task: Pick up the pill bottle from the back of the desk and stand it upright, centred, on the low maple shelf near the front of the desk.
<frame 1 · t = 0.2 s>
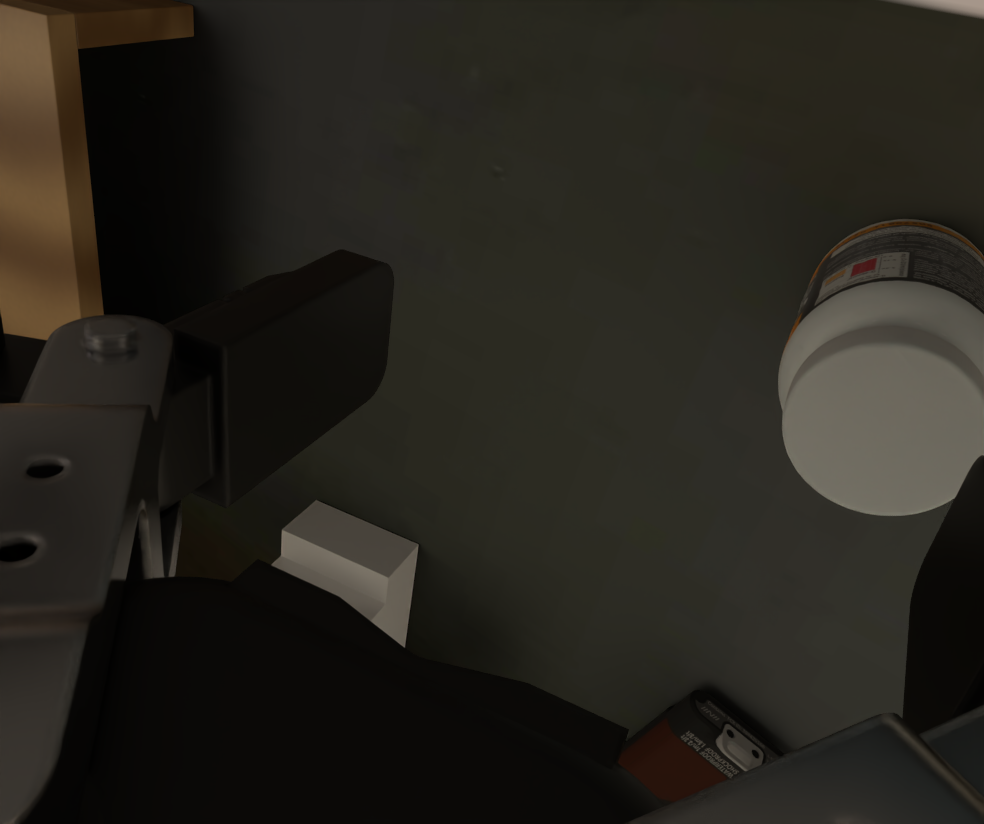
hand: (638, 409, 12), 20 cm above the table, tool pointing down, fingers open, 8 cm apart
pill bottle: (900, 298, 29), on the table
shelf: (116, 191, 42), on the table
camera: (684, 770, 42), on the table
grey cradle stand: (347, 614, 48), on the table
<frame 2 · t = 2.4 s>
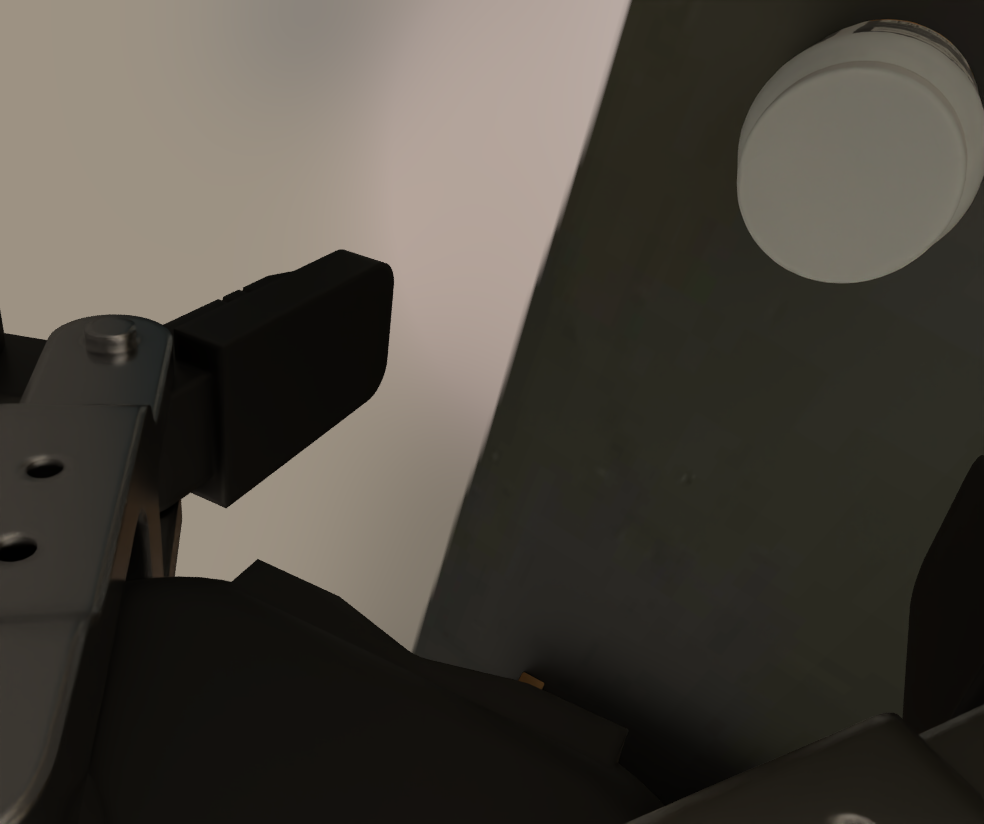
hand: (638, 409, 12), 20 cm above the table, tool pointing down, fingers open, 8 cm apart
pill bottle: (874, 116, 27), on the table
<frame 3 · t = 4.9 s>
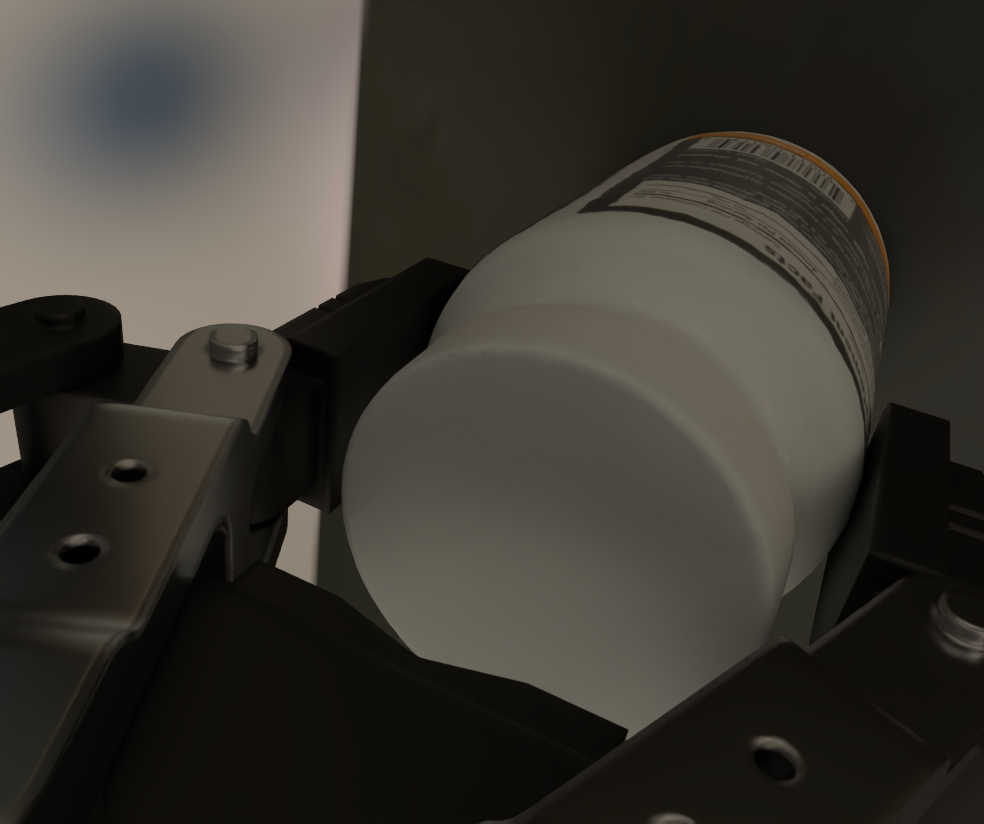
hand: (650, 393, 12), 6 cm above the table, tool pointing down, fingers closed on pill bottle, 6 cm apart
pill bottle: (732, 274, 17), on the table, touching gripper
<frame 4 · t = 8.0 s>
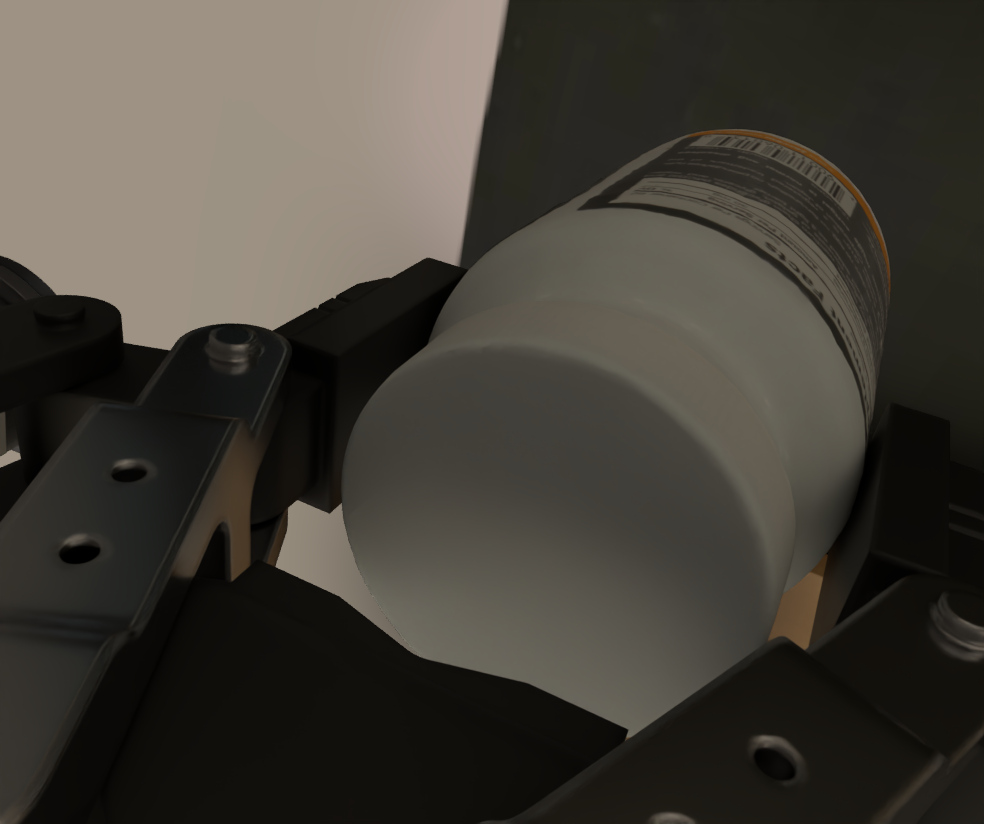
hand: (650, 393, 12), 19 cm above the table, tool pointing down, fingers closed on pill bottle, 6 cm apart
pill bottle: (733, 272, 17), point 13 cm above the table, touching gripper
shelf: (760, 550, 35), on the table
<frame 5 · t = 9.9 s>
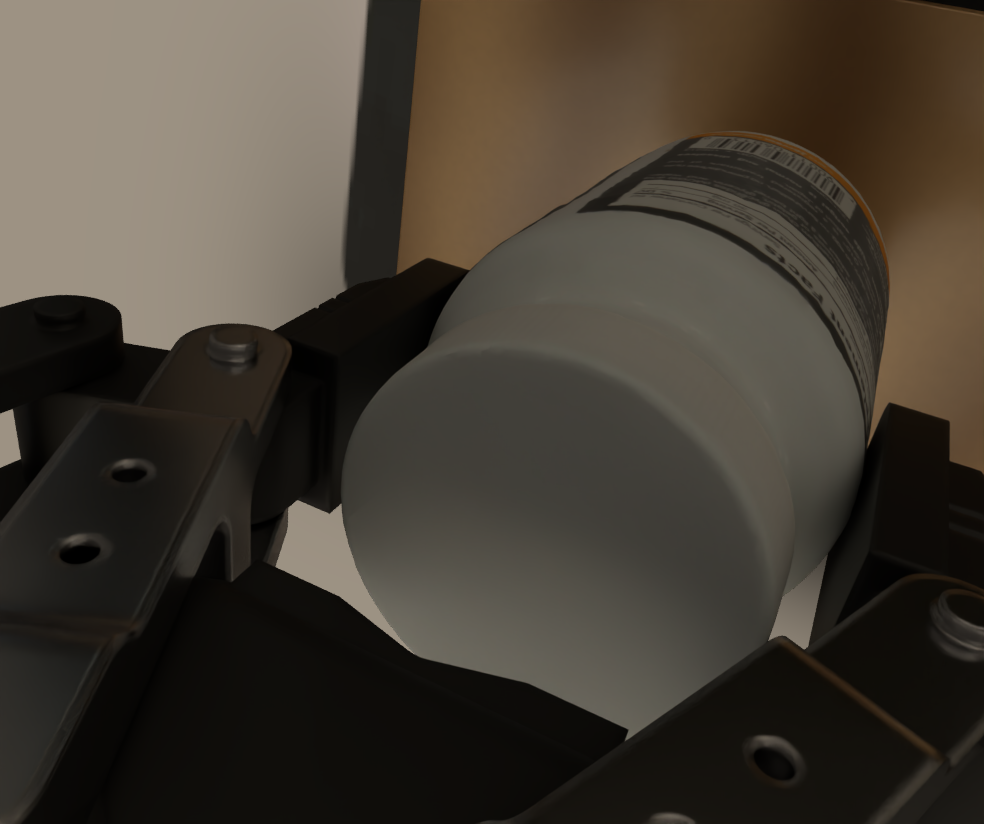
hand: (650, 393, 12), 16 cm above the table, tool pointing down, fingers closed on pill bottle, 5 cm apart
pill bottle: (732, 273, 17), point 10 cm above the table, touching gripper
shelf: (807, 173, 25), on the table
when the fingers open (13 cm above the table, at t = 11.3 s): pill bottle stays where it is, resting on shelf.
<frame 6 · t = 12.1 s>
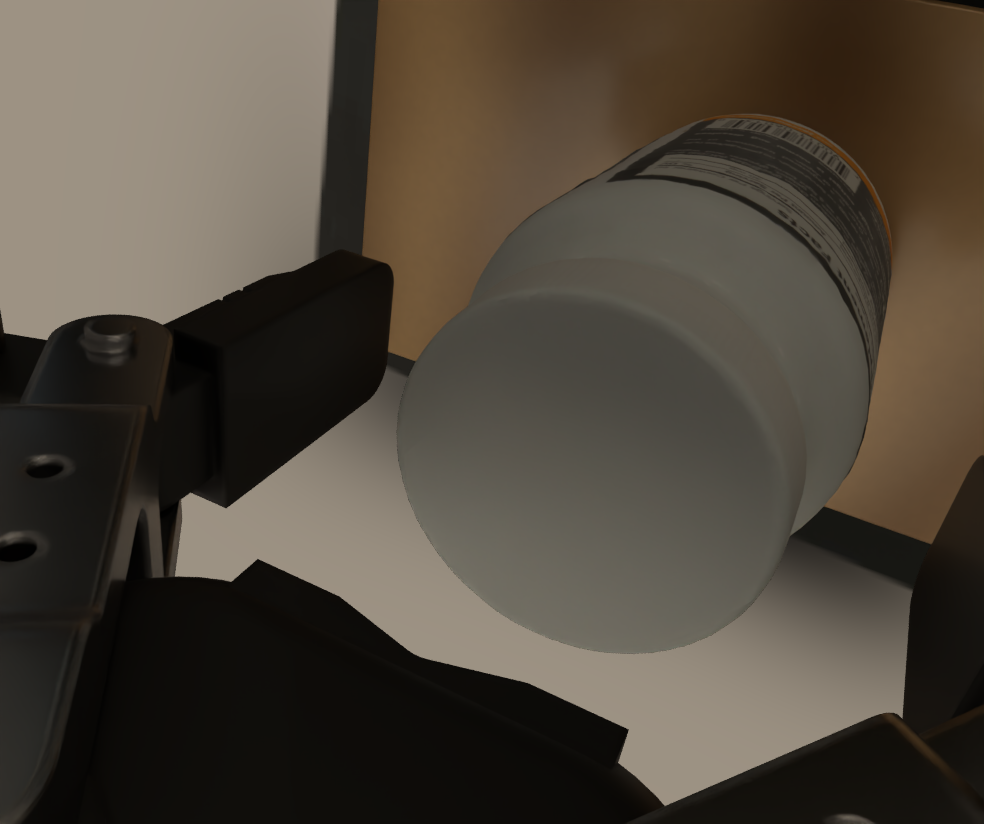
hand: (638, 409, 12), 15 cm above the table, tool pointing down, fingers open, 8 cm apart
pill bottle: (744, 249, 18), point 7 cm above the table, touching shelf
shelf: (798, 181, 24), on the table
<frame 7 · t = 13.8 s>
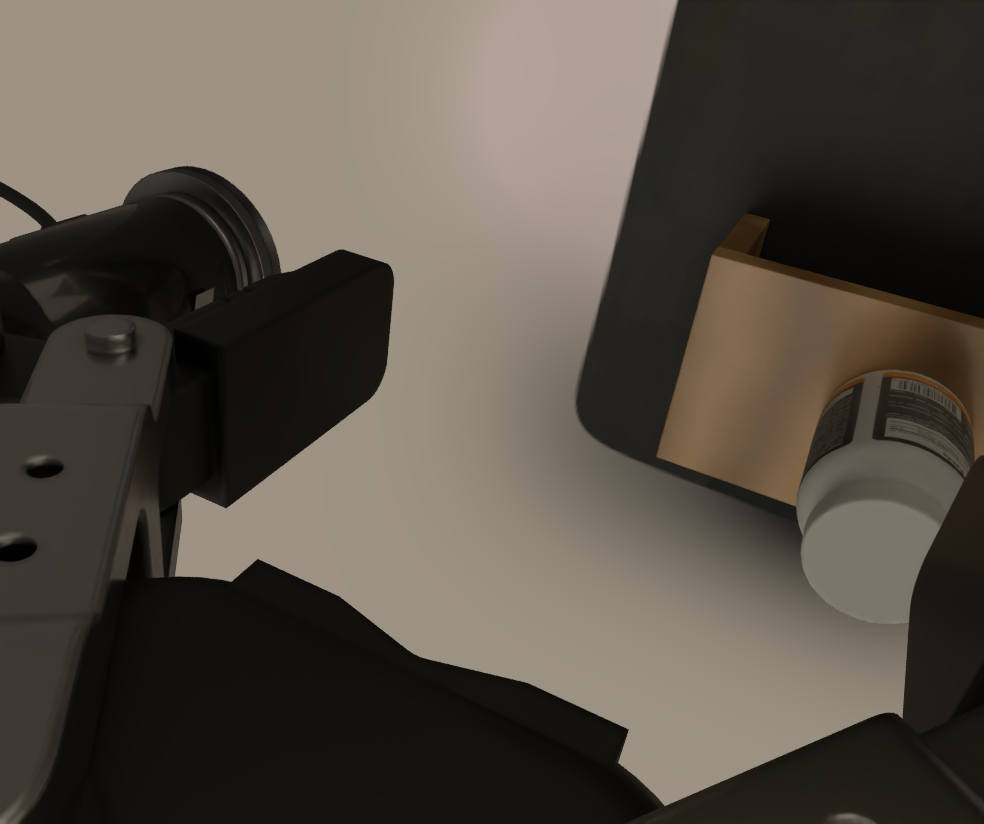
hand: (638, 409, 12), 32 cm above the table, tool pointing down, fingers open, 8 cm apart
pill bottle: (894, 426, 36), point 7 cm above the table, touching shelf
shelf: (904, 363, 41), on the table
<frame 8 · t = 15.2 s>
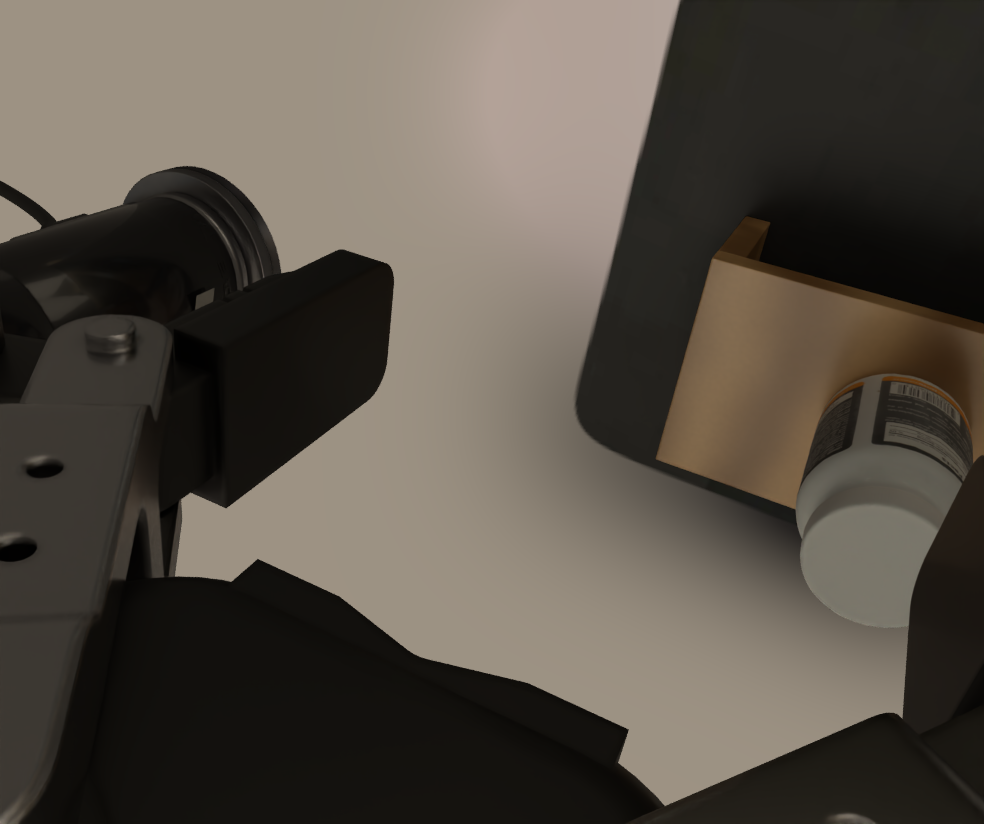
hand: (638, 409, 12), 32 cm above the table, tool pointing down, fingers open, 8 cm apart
pill bottle: (893, 430, 36), point 7 cm above the table, touching shelf
shelf: (903, 367, 42), on the table
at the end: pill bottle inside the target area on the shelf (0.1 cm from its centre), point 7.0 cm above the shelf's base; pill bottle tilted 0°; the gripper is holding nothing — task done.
